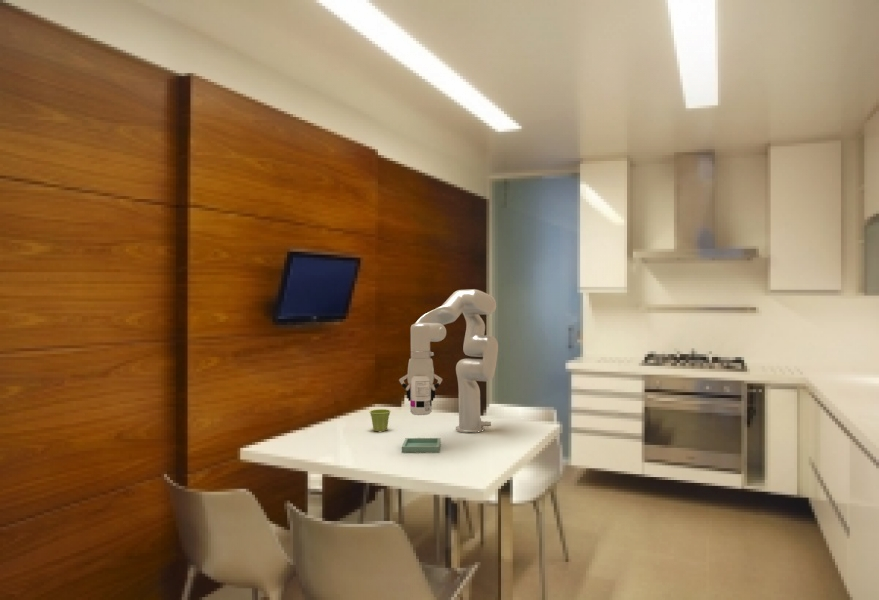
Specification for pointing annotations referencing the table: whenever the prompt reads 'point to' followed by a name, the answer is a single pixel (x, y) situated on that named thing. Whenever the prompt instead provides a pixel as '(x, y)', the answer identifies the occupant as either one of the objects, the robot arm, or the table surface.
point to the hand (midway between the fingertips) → (420, 400)
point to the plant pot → (380, 419)
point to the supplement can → (420, 396)
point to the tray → (421, 445)
